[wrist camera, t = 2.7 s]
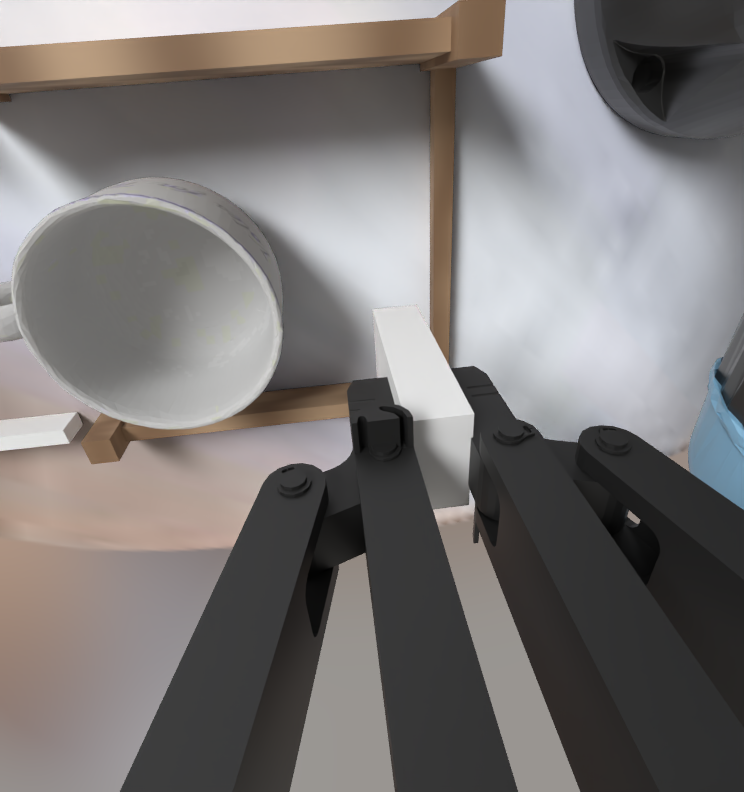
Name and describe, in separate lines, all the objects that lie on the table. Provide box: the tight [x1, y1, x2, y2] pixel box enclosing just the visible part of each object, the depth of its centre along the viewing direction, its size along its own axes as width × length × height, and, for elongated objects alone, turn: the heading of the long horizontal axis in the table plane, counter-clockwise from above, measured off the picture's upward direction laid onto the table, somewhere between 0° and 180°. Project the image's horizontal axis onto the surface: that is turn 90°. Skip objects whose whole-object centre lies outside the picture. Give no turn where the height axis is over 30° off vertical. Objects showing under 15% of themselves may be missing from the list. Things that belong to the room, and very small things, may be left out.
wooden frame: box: [0, 0, 506, 464], centre depth 23 cm, size 22×20×7 cm
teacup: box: [0, 177, 283, 429], centre depth 23 cm, size 14×11×8 cm
